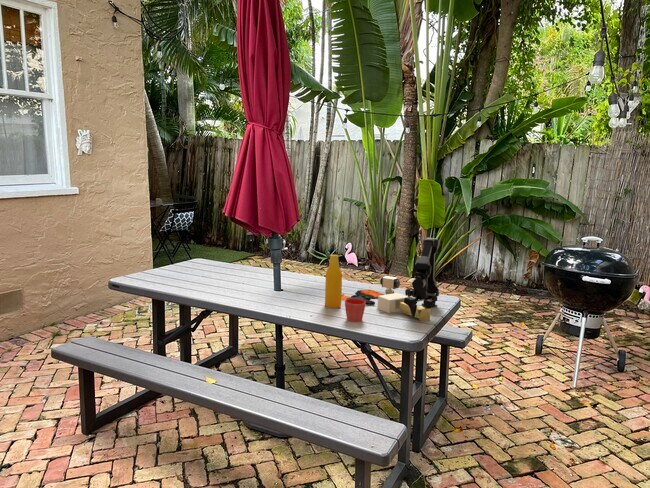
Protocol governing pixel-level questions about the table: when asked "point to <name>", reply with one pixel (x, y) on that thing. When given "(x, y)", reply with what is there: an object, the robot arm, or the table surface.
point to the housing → (390, 302)
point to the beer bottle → (333, 283)
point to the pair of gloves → (364, 296)
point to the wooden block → (421, 312)
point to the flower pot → (354, 309)
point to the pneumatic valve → (389, 284)
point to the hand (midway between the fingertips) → (419, 315)
